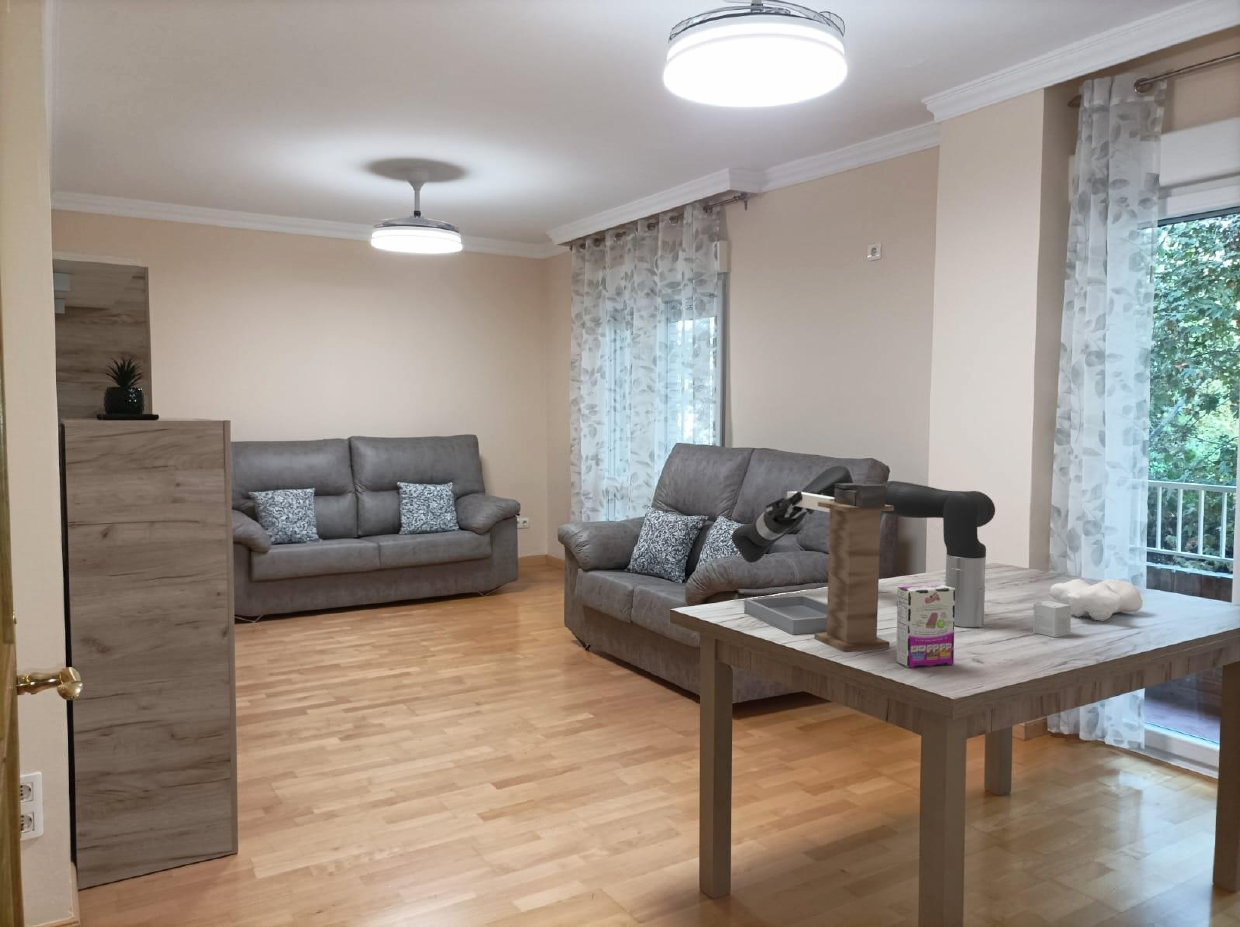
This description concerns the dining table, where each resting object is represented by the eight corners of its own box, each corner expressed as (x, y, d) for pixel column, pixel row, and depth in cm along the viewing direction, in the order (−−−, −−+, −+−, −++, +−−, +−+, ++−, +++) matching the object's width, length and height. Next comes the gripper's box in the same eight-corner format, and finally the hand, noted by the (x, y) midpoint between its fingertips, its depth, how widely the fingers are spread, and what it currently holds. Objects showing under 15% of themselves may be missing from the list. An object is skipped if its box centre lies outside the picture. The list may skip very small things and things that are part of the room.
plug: (840, 512, 216) (841, 498, 216) (829, 512, 215) (829, 498, 215) (797, 503, 234) (798, 491, 234) (787, 504, 233) (787, 491, 233)
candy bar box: (939, 658, 198) (942, 583, 197) (954, 665, 193) (957, 588, 192) (894, 662, 195) (896, 585, 194) (907, 668, 190) (910, 590, 189)
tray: (857, 629, 223) (857, 614, 223) (792, 634, 217) (793, 620, 217) (803, 607, 246) (804, 595, 245) (744, 612, 239) (744, 599, 239)
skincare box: (1070, 635, 220) (1072, 604, 220) (1054, 638, 217) (1056, 607, 217) (1048, 629, 225) (1049, 600, 225) (1032, 632, 222) (1033, 602, 222)
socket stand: (891, 648, 206) (897, 485, 203) (846, 652, 202) (851, 486, 199) (857, 634, 218) (862, 480, 215) (814, 638, 214) (818, 481, 211)
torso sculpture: (1084, 610, 254) (1035, 613, 239) (1087, 574, 254) (1039, 575, 239) (1153, 623, 239) (1106, 627, 225) (1156, 585, 239) (1110, 587, 224)
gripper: (748, 508, 240) (779, 481, 226) (795, 507, 245) (828, 480, 231) (755, 535, 237) (786, 509, 223) (802, 533, 242) (835, 507, 228)
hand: (807, 494), depth 227 cm, fingers closed on plug, 3 cm apart
